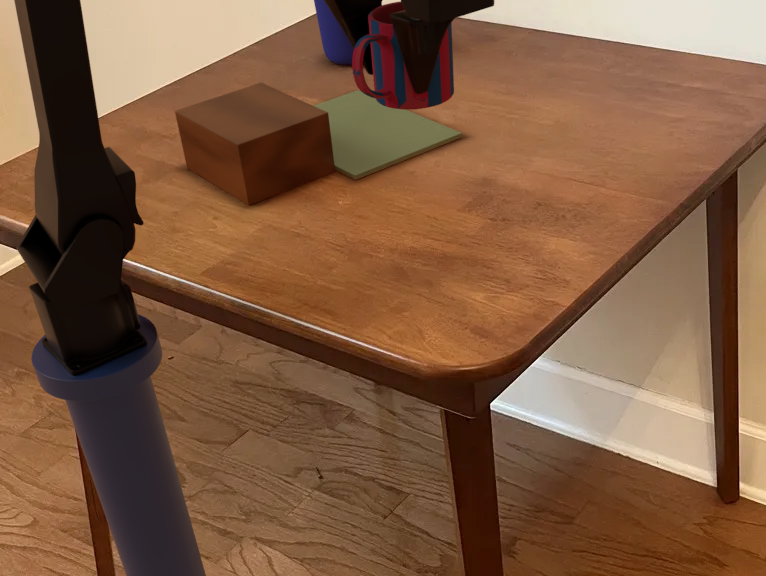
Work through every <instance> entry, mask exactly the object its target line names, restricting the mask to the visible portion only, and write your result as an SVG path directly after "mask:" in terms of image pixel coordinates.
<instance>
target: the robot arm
mask: <svg viewBox="0 0 766 576" xmlns="http://www.w3.org/2000/svg"><path fill="white" fill-rule="evenodd" d="M13 1H14V6H15V11H16V17H17V22H18V28H19V33H20V38H21V43H22V48H23V54H24V59H25V65H26V70H27V75H28V80H29V85H30V91H31V96H32V103H33V106H34V112H35V117H36V124H37V128H38V135H39V136H38V137H39V141H38V149H37V154H36V160H35V165H34V173H33V175H34V176H33V177H34V213H35V215H34V216H33V218H32V220H31V222H30V223H29V225H28V227H27V229H26V230H25V231H24V234H23V235H22V237H21V239H20V240H19V242H18V244H17V245H16V251H17V252H18V254H19V255H20V257H21V258H22V260H23V262H24V263H25V265H26V266H27V268H28V270H29V271H30V273H31V274H32V276H33V277H34V279H35V280H36V282H35V283H32V284H31V285H29V286H28V288H29V291H30V295H31V297H32V300H33V303H34V305H35V309H36V312H37V315H38V317H39V320H40V323H41V326H42V328H43V333H44V335H46V337H45V338H43V339H42V344H43V346H44V347H45V348H46V349H47V350H48V351H49V352H50V353H51V354H52V355H53V357H54V358H55V359H56V360H57V361H58V362H59V363H60V364H61V365H62V366H63V367H64V368H65V369H66V370H67V371H68V372H69V373H70V374H71V375H72V376H78V375H81V374H83V373H85V372H88V371H90V370H92V369H94V368H97V367H99V366H101V365H103V364H106V363H108V362H110V361H113V360H115V359H117V358H119V357H122V356H124V355H126V354H128V353H131V352H133V351H135V350H137V349H140V348H142V347H144V346H146V344H147V342H146V339H145V337H144V336H142V335H141V334H140V333H139V332H138V331H137V330H138V329H140V326H141V324H140V320H139V317H138V314H139V313H138V310H137V307H136V306H137V305H136V303H135V299H134V295H133V292H132V287H131V285H130V284H129V283H128V282H126V281H125V280H124V279H123V278H122V275H123V264H124V259H125V258H126V257H127V256H128V254H129V253H130V252H131V251H133V249H134V247H135V243H136V226H135V225H138V226H143V225H144V220H143V219H142V217H141V216H140V213H139V211H138V207H137V200H136V195H137V179H136V172H135V171H134V170H133V169H132V168H131V167H130V166H129V165H128V164H127V163H126V162H125V161H124V159H122V157H121V156H119V155H118V154H117V153H116V151H114V149H113V148H111V146H106V147H105V146H104V142H103V140H102V133H101V127H100V121H99V113H98V106H97V101H96V94H95V88H94V81H93V80H94V79H93V74H92V68H91V62H90V55H89V47H88V42H87V34H86V29H85V23H84V21H85V20H84V15H83V10H82V9H83V8H82V3H81V0H13ZM324 1H325V3H326V4H327V6H328V8H329V9H330V11H331V12H332V14H333V15H334V17H335V19H336V20H337V22H338V23H339V25H340V26H341V28H342V30H343V31H344V33H345V35H346V36H347V38H348V40H349V42H350V43H351V45H352V47H353V49H354V48H355V45H356V43H357V42H358V41H359V39H360V38H362V37H363V36H365V35H368V34H370V33H369V21H368V14H369V13H370V12H371V11H372V10H373V9H375V8H377V7H379V6H381V3H382V4H383V0H324ZM400 1H401V4H402V6H403V7H404V9H405V10H403V11H399V12H396V13H393V14H390V18H391V22H392V25H393V28H394V31H395V35H396V38H397V41H398V44H399V47H400V50H401V54H402V57H403V60H404V63H405V67H406V70H407V73H408V76H409V79H410V82H411V84H412V87H413V89H414V92H415V93H416V94H421V93H424V92H426V91H427V90H428V88H429V85H430V81H431V78H432V74H433V71H434V67H435V64H436V61H437V57H438V54H439V50H440V47H441V44H442V41H443V38H444V36H445V33H446V31H447V28H448V26H449V25H450V24H451V23H453V21H454V20H455V19H456V18H459V17H463V16H466V15H470V14H473V13H476V12H479V11H482V10H486V9H489V8H492V7H495V0H400ZM363 69H365V72H366V73H367V74H368V75H371V76H373V67H372V56H371V44H370V43H369V45H368V46H367V47H366V50H365V52H364V56H363Z"/></svg>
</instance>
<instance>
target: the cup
mask: <svg viewBox="0 0 766 576" xmlns="http://www.w3.org/2000/svg"><path fill="white" fill-rule="evenodd" d="M403 10H405V9H404V7H403V6H402V4H401V0H400V1H395V2H390V3H385V4H382V6H379V7H377V8H375V9H373V10H372V11H371V12H370V13H369V14H368V21H369V33H370V34H368V35H365V36H363V37H362V38H360V39H359V41H358V42H357V43H356V45H355V48H354V51H353V58H352V65H351V67H352V75H353V79H354V82H355V84H356V87H357V88H358V90H359V91H361V92H363V93H364V94H366V95H367V96H370V97H372V98H375V99H376V100H377V102H379V103H380V104H381V105H383V106H386V107H389V108H394V109H405V110H408V111H411V110H422V109H428V108H433V107H436V106H440V105H441V104H444V103H446V102H448V101H449V100H450V99H451V98H452V97H453V96H454V95H455V81H454V80H455V79H454V78H455V77H454V56H453V55H454V54H453V53H454V51H453V26H452V23H453V22H451V24H450V25H449V26H448V28H447V31H446V33H445V36H444V38H443V41H442V44H441V47H440V50H439V54H438V57H437V61H436V64H435V67H434V71H433V74H432V78H431V81H430V85H429V88H428V90H427V91H426V92H424V93H421V94H416V93H415V92H414V89H413V87H412V84H411V82H410V79H409V76H408V73H407V70H406V67H405V63H404V60H403V57H402V54H401V50H400V47H399V44H398V41H397V38H396V35H395V31H394V28H393V25H392V22H391V18H390V14H393V13H396V12H399V11H403ZM369 43H370V44H371V56H372V67H373V75H372V76H373V89H374V90H372V89H371V88H370V86H369V85H368V83H367V80H366V77H365V73H364V66H363V56H364V52H365V50H366V47H367V46H368V45H369Z"/></svg>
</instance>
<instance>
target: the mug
mask: <svg viewBox="0 0 766 576" xmlns="http://www.w3.org/2000/svg"><path fill="white" fill-rule="evenodd" d="M313 3H314V9H315V13H316V18H317V24H318V28H319V35H320V40H321V43H322V49H323V53H324V55H325V57H326V58H327V60H328V61H330V63H331V62H332V63H334V64H336V65H344V66H345V65H346V66H349V65H350V66H352V58H353V51H354V49H353V47H352V45H351V43H350V42H349V40H348V38H347V36H346V35H345V33H344V31H343V30H342V28H341V26H340V25H339V23H338V22H337V20H336V19H335V17H334V15H333V14H332V12H331V11H330V9H329V8H328V6H327V4H326V3H325V1H324V0H313ZM382 5H383V2H382V3H381V6H382Z"/></svg>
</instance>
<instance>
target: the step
mask: <svg viewBox="0 0 766 576" xmlns="http://www.w3.org/2000/svg"><path fill="white" fill-rule="evenodd" d="M174 114H175V119H176V123H177V128H178V132H179V137H180V142H181V146H182V150H183V156H184V160H185V164H186V169H188V170H190V171H191V172H192V173H195V174H196V175H198V176H199V177H201V178H203V179H204V180H206V181H208V182H210V183H211V184H212V185H214V186H216V187H218V188H219V189H220V190H223V191H224V192H226V193H228V194H229V195H231V196H233V197H234V198H236V199H237V200H239V201H240V202H243V203H244V204H246V205H248V206H251V205H254V204H256V203H259V202H261V201H264V200H267V199H269V198H272V197H274V196H277V195H279V194H281V193H285V192H287V191H289V190H292V189H294V188H296V187H297V188H298V187H299V186H302V185H304V184H305V185H306V184H307V183H310V182H312V181H315V180H317V179H320V178H322V177H325V176H327V175H331V174H332V173H335V172H336V170H335V165H334V156H333V148H332V140H331V132H330V123H329V115H328V112H326V111H323V110H321V109H319V108H317V107H315V106H314V105H312V104H311V103H308V102H306V101H304V100H301V99H300V98H297V97H294V96H292V95H291V94H288V93H285V92H283V91H281V90H279V89H276V88H275V87H272V86H270V85H267V84H266V83H264V82H258V83H255V84H252V85H250V86H246V87H243V88H240V89H237V90H234V91H230V92H228V93H225V94H221V95H219V96H216V97H213V98H210V99H206V100H204V101H201V102H197V103H194V104H191V105H188V106H185V107H183V108H180V109H179V108H178V109H176V110H174Z"/></svg>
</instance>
